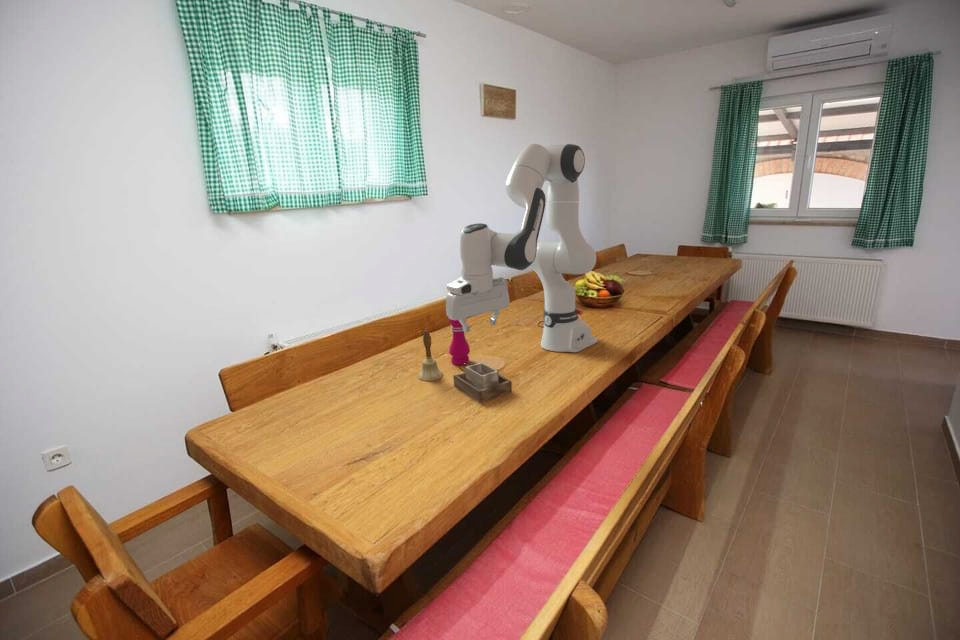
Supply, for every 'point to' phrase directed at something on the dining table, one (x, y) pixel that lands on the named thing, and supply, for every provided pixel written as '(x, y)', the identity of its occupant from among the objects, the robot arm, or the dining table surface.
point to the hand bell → (429, 362)
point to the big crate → (485, 393)
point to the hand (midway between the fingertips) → (480, 327)
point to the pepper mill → (458, 344)
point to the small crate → (481, 376)
